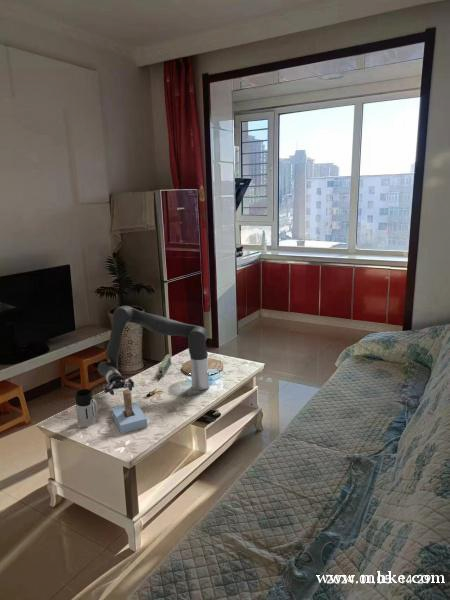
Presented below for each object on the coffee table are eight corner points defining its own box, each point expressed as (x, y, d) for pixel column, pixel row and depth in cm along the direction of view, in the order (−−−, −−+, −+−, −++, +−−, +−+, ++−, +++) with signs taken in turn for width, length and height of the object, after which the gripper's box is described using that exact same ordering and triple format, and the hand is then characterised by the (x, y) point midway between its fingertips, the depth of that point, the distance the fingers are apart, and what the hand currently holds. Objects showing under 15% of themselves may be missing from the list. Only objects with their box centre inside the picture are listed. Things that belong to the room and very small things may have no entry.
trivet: (177, 376, 251) (177, 373, 250) (187, 360, 275) (187, 357, 274) (219, 377, 247) (219, 374, 246) (226, 361, 271) (226, 358, 270)
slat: (130, 416, 204) (128, 389, 201) (133, 420, 200) (130, 392, 197) (125, 417, 203) (122, 390, 200) (127, 421, 199) (125, 394, 196)
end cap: (137, 409, 212) (136, 402, 211) (147, 426, 197) (146, 418, 196) (112, 415, 207) (111, 408, 206) (121, 433, 192) (120, 425, 191)
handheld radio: (172, 364, 269) (162, 381, 244) (167, 364, 269) (156, 381, 245) (171, 354, 267) (160, 370, 243) (165, 354, 267) (155, 370, 243)
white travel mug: (89, 415, 209) (86, 386, 205) (107, 424, 200) (104, 394, 196) (73, 422, 202) (69, 393, 198) (90, 432, 193) (87, 402, 190)
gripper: (99, 375, 219) (106, 387, 205) (127, 369, 225) (135, 381, 211) (101, 388, 221) (107, 401, 207) (128, 382, 227) (137, 395, 213)
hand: (122, 391), depth 209 cm, fingers open, 8 cm apart
